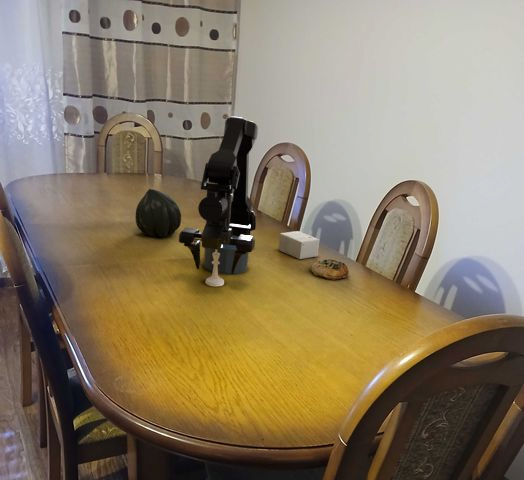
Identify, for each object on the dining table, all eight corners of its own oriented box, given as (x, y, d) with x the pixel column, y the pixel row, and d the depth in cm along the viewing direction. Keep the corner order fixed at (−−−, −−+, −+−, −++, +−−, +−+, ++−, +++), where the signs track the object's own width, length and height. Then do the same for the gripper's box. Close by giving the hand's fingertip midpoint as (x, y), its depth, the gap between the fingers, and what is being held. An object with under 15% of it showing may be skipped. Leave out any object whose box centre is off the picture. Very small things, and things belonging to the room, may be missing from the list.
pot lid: (209, 235, 165) (210, 220, 163) (253, 242, 164) (255, 226, 162) (198, 248, 153) (199, 231, 151) (245, 255, 152) (247, 238, 150)
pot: (209, 257, 167) (210, 234, 164) (249, 263, 166) (252, 240, 163) (199, 270, 156) (200, 246, 153) (242, 276, 155) (244, 252, 152)
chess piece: (204, 285, 147) (205, 249, 142) (206, 278, 151) (207, 242, 146) (223, 287, 147) (225, 250, 142) (224, 280, 151) (226, 244, 146)
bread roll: (351, 270, 168) (353, 255, 165) (343, 287, 159) (345, 271, 157) (315, 265, 171) (316, 249, 168) (305, 280, 162) (306, 265, 160)
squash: (197, 220, 183) (173, 179, 181) (166, 230, 171) (141, 186, 170) (172, 240, 192) (149, 201, 191) (141, 251, 180) (117, 210, 179)
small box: (277, 249, 181) (299, 259, 174) (279, 232, 178) (301, 242, 171) (296, 247, 185) (317, 256, 178) (298, 230, 183) (320, 239, 176)
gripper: (173, 214, 134) (171, 276, 141) (250, 224, 132) (245, 287, 140) (185, 204, 144) (183, 262, 151) (257, 214, 142) (252, 272, 149)
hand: (215, 271), depth 147 cm, fingers open, 9 cm apart
